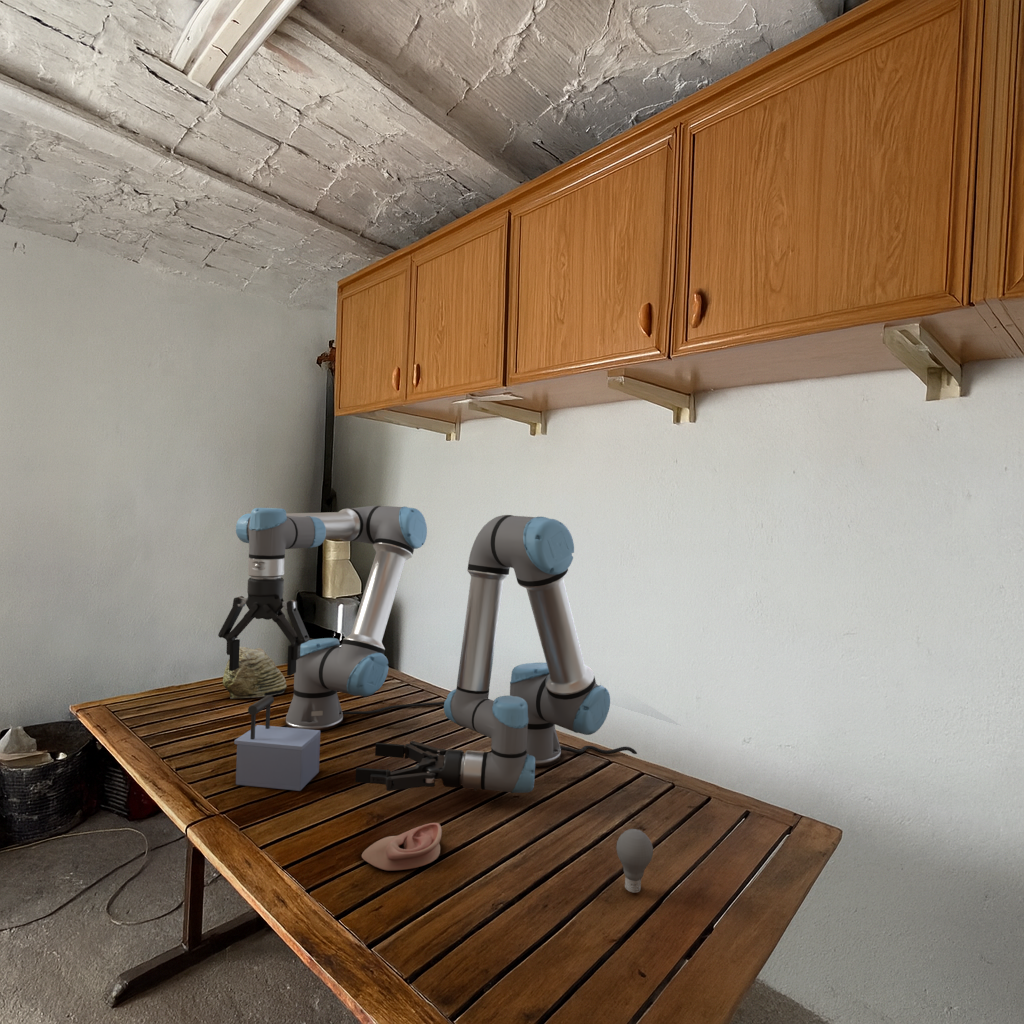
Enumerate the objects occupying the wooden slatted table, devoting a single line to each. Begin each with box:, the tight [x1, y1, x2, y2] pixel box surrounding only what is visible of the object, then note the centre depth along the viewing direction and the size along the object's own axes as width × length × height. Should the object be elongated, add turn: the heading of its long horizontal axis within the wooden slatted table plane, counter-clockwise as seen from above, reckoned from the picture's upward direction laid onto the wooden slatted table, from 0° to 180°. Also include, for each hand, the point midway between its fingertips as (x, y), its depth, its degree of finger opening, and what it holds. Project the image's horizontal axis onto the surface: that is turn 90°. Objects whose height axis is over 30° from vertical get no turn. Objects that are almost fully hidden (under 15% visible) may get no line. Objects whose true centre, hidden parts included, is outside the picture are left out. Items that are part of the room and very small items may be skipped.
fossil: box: [222, 646, 288, 699], centre depth 198 cm, size 9×18×15 cm, turn 132°
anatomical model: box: [361, 822, 443, 872], centre depth 114 cm, size 13×4×12 cm
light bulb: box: [615, 828, 654, 894], centre depth 106 cm, size 6×6×10 cm
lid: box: [234, 695, 321, 750], centre depth 141 cm, size 15×10×8 cm, turn 83°
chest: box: [235, 734, 321, 792], centre depth 141 cm, size 15×10×9 cm, turn 83°
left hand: (262, 671), depth 142 cm, fingers open, 13 cm apart
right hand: (366, 761), depth 138 cm, fingers open, 13 cm apart
